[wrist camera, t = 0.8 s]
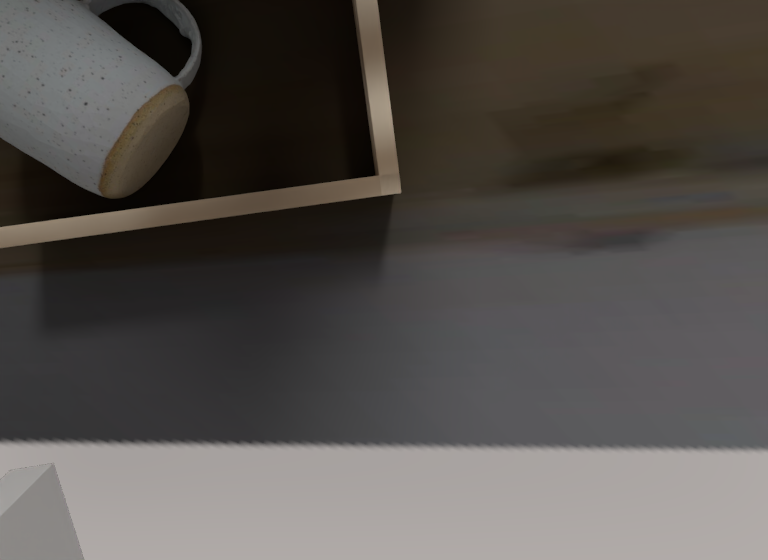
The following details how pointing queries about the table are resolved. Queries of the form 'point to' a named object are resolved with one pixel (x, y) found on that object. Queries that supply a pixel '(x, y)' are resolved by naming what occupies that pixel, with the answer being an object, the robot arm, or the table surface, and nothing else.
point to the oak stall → (264, 200)
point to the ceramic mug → (90, 92)
